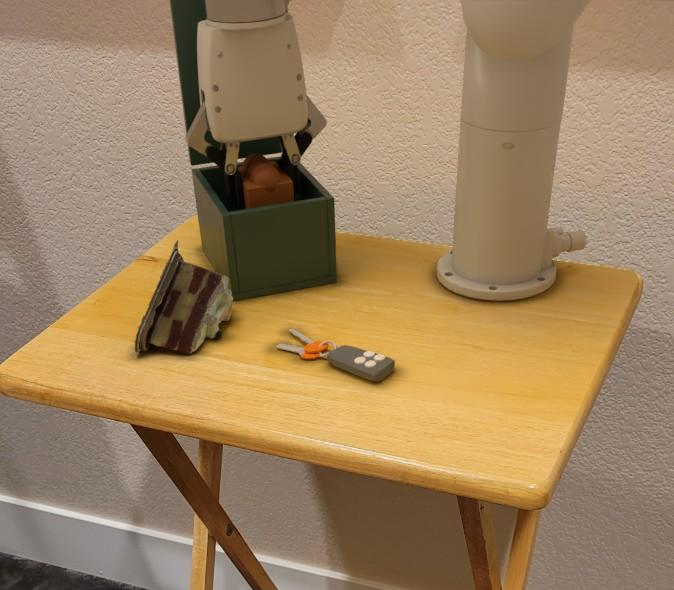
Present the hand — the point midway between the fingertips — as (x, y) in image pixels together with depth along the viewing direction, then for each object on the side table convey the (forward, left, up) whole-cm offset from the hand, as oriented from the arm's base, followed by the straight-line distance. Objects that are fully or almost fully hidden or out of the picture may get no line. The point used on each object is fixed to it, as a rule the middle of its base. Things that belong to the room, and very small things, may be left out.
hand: (264, 203), depth 94 cm
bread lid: (0, -6, +10) cm, 12 cm away
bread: (0, 0, -1) cm, 1 cm away
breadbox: (0, 0, -7) cm, 7 cm away
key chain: (0, +22, -7) cm, 23 cm away
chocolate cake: (+12, +12, -7) cm, 18 cm away
